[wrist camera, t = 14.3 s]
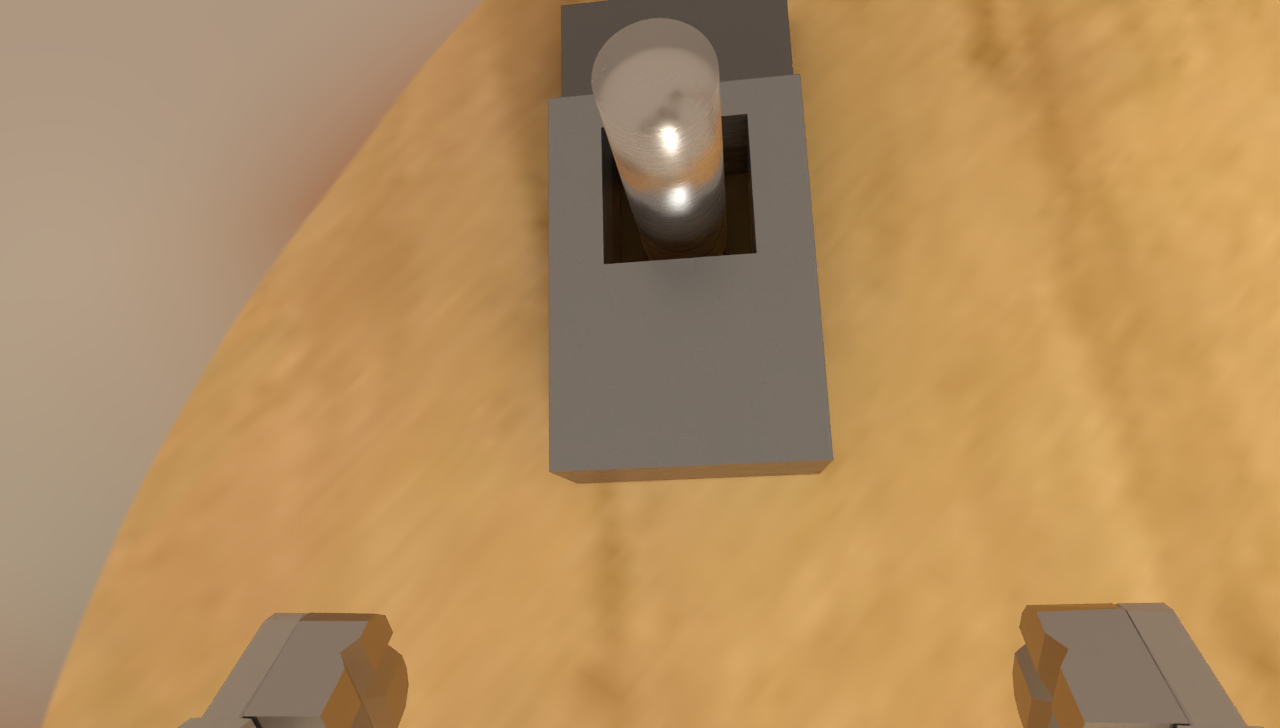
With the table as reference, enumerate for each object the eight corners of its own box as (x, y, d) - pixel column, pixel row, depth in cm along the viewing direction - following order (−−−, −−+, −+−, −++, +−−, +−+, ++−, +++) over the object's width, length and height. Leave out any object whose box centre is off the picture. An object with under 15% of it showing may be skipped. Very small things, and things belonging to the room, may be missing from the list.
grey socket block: (782, 17, 30) (788, -63, 26) (819, 473, 26) (833, 460, 22) (572, 40, 31) (548, -34, 27) (577, 483, 27) (549, 471, 23)
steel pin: (724, 195, 28) (715, 11, 19) (729, 275, 28) (722, 126, 18) (641, 202, 29) (590, 25, 19) (644, 280, 28) (592, 138, 18)
